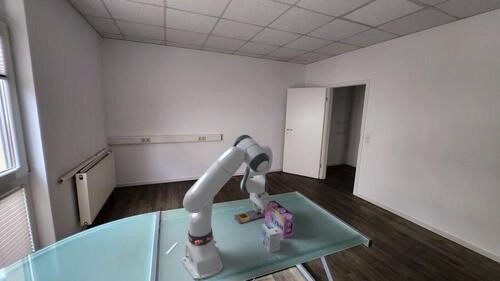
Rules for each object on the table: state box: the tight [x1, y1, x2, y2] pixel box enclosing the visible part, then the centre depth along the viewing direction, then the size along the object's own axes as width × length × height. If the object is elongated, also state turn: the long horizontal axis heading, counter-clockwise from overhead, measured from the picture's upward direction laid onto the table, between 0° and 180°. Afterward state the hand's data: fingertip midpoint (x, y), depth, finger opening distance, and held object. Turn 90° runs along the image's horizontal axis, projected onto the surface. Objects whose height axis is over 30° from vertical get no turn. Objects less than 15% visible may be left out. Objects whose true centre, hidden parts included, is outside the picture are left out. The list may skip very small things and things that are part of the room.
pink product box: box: [264, 200, 295, 239], centre depth 127 cm, size 24×8×14 cm, turn 26°
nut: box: [253, 205, 261, 215], centre depth 142 cm, size 4×4×6 cm
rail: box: [233, 209, 265, 225], centre depth 139 cm, size 8×22×3 cm, turn 120°
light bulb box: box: [261, 222, 282, 254], centre depth 109 cm, size 11×7×11 cm, turn 21°
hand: (258, 210), depth 141 cm, fingers open, 8 cm apart
